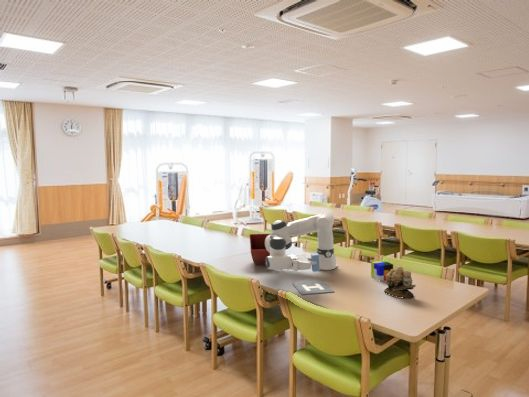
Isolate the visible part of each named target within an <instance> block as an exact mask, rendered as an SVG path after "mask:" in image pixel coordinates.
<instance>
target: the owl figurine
mask: <svg viewBox="0 0 529 397" xmlns="http://www.w3.org/2000/svg"><path fill="white" fill-rule="evenodd" d="M385 283H386V284H387V287H386V288H385V289H384V290H383V292H384V294H386V293H387V294H386V295H388V294H390V295H393V296H397V297H403V298H402V299H406V298H408V299H412V298H413V297H414V296H415V295H414V294H413V292H412V291H410V290H414V288H415V287H416V286H417V285H416V284H413V278H412V272H411V271H410V270H407V269H406V270H404V267H403V266H401V265H398V266H396V267H395V268H393V269H391V270H390V272H389V273H388V274H386V280H385ZM390 295H389V296H390ZM393 296H392V297H393ZM397 297H396V298H397ZM411 297H412V298H411Z"/></svg>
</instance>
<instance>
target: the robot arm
mask: <svg viewBox="0 0 529 397" xmlns="http://www.w3.org/2000/svg"><path fill="white" fill-rule="evenodd" d="M334 224H335V217H334V215H333V214H332V213H330V212H322V213H319V214H316V215H312V216H307V217H305V218H301V219H296V220H293V221H290V222H287V221H285V220H282V219H279V220H275V221H273V222H272V223H271V230H272V233H269V234H270V235H268V236H267V237H266V239H265V247H266V250H267V251H268V252H269V253H270V256H267V257H266V259H265V263H266V264H265V266H266V269H267V270H274V271H275V270H277V271H279V270H280V271H282V270H291V271H294V272H298V271H304V270H305V271H306V270H310V269H311V270H312V265H313V264H317V262H316V261H311V257H307V256H306V255H305V254H286V250H289V249H291V247H292V245H293V241H292V239H291V236H292V237H293V236H294V237H295V236H301V235H306V234H311V233H314V232H316V234H317V248H316V253H317V254H318V255H319V266H320V271H321V270H322V271H323V270H324V271H329V270H330V271H331V270H333V269H336V268H337V267H339V265H338V264H337V258H336V254H335V248H334V234H333V226H334Z"/></svg>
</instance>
